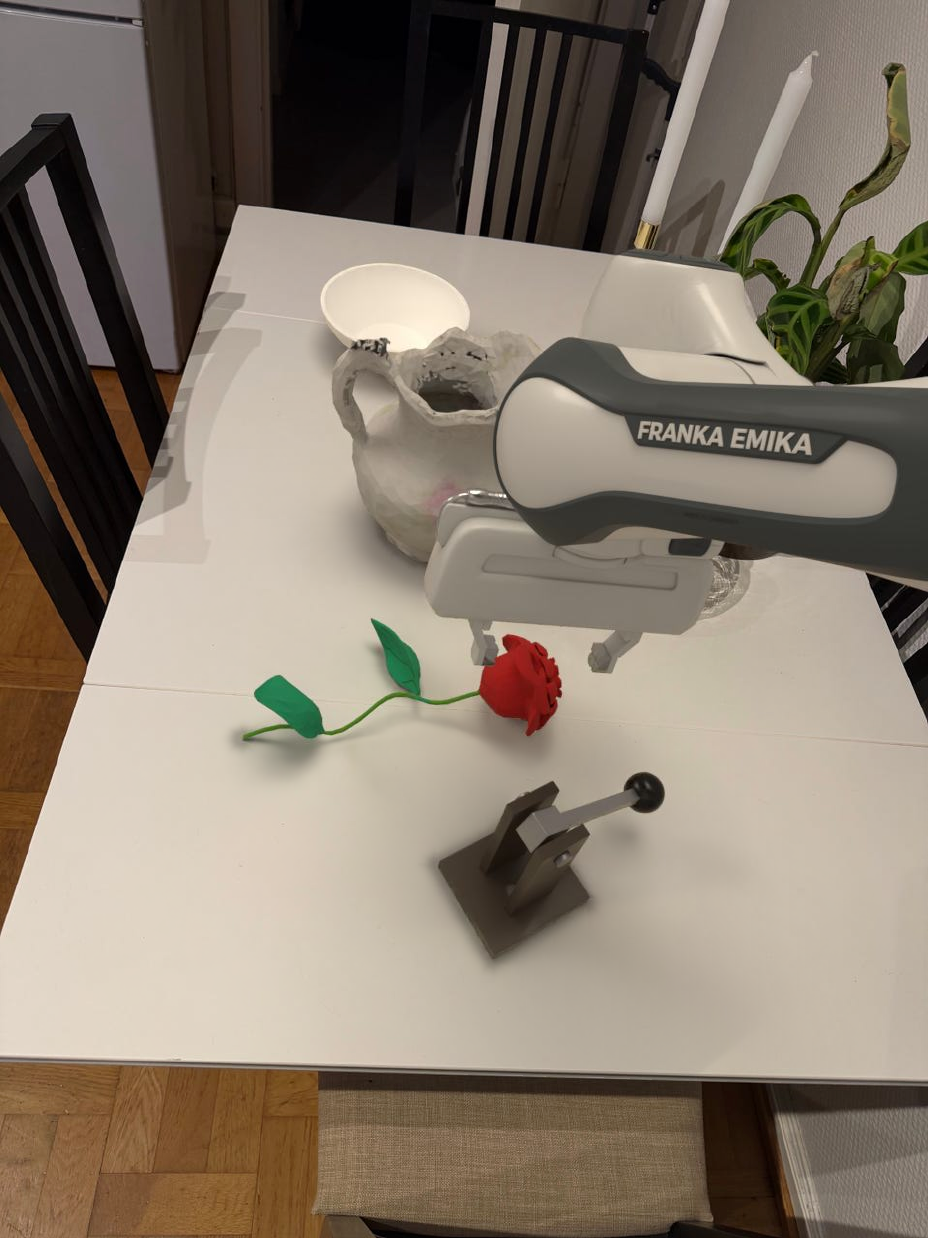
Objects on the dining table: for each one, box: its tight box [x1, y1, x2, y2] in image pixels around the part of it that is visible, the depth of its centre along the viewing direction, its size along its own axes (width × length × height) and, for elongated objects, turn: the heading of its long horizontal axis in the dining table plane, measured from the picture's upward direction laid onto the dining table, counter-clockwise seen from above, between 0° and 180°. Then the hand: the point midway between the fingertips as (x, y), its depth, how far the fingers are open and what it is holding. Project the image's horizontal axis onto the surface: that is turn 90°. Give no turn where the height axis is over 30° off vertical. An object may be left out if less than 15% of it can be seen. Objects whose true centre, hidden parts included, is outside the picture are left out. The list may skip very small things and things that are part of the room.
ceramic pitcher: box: [331, 327, 544, 563], centre depth 90 cm, size 22×20×25 cm
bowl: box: [319, 262, 471, 359], centre depth 116 cm, size 20×20×7 cm
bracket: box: [437, 780, 591, 960], centre depth 71 cm, size 10×9×14 cm
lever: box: [516, 771, 666, 853], centre depth 72 cm, size 17×4×4 cm, turn 122°
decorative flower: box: [242, 617, 563, 740], centre depth 82 cm, size 14×30×10 cm, turn 96°
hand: (541, 665), depth 66 cm, fingers open, 8 cm apart
